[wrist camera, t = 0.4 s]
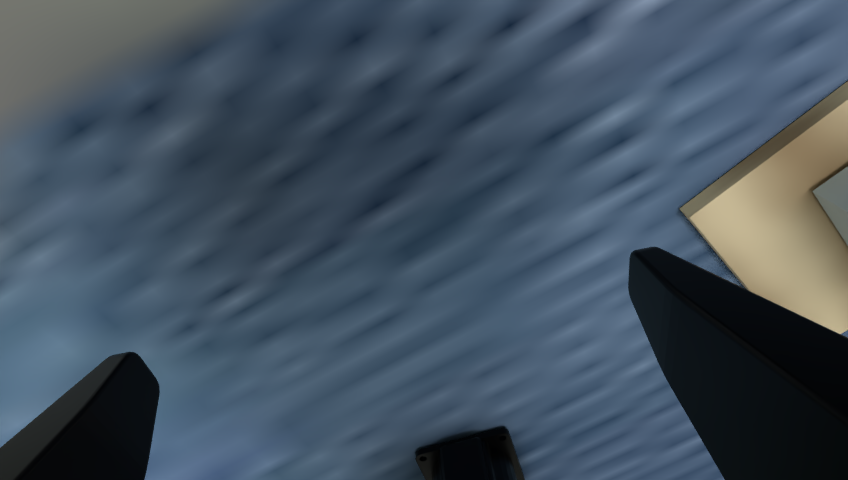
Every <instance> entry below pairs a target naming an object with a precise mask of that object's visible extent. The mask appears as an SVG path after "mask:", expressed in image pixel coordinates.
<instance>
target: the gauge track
mask: <svg viewBox="0 0 848 480" xmlns="http://www.w3.org/2000/svg"><path fill="white" fill-rule="evenodd" d="M847 166H848V81H847V82H846V83H845V84H843V85H842V86H841V87H839V88H838V89H837V90H835V91H834V92H833V93H831V94H830V95H829V96H827V97H826V98H825V99H823V100H822V101H821V102H819V103H818V104H817V105H816V106H814V107H813V108H812V109H810V110H809V111H808V112H806V113H805V114H804V115H802V116H801V117H800V118H798V119H797V120H796V121H794V122H793V123H792V124H790V125H789V126H788V127H787V128H785V129H784V130H783V131H781V132H780V133H779V134H777V135H776V136H775V137H773V138H772V139H771V140H769V141H768V142H767V143H765V144H764V145H763V146H761V147H760V148H759V149H757V150H756V151H755V152H754V153H752V154H751V155H750V156H748V157H747V158H746V159H744V160H743V161H742V162H740V163H739V164H738V165H736V166H735V167H734V168H732V169H731V170H730V171H728V172H727V173H726V174H724V175H723V176H722V177H721V178H719V179H718V180H717V181H715V182H714V183H713V184H711V185H710V186H709V187H707V188H706V189H705V190H703V191H702V192H701V193H699V194H698V195H697V196H695V197H694V198H693V199H691V200H690V201H689V202H688V203H686V204H685V205H684V206H682V207H681V208H680V210H681V211H682V213H683V214H684V215H685V216H686V217H687V219H688V220H689V221H690V222H691V223H692V225H693V226H694V227H695V228H696V229H697V231H698V232H699V233H700V234H701V235H702V237H703V238H704V239H705V240H706V241H707V243H708V244H709V245H710V246H711V247H712V249H713V250H714V251H715V252H716V253H717V255H718V256H719V257H720V258H721V259H722V261H723V262H724V263H725V264H726V265H727V267H728V268H729V269H730V270H731V271H732V273H733V274H734V275H735V276H736V277H737V279H738V280H739V281H740V282H741V283H742V285H743V286H744V287H745V288H746V289H747V290H749V291H751V292H753V293H755V294H757V295H759V296H761V297H763V298H765V299H767V300H770V301H772V302H774V303H776V304H778V305H780V306H782V307H784V308H786V309H788V310H791V311H793V312H795V313H797V314H799V315H801V316H803V317H805V318H807V319H809V320H812V321H814V322H816V323H818V324H820V325H822V326H824V327H826V328H828V329H830V330H833V331H835V332H837V333H839V334H842V333H843V332H845V331H847V330H848V246H847V244H846V242H845V241H844V239H843V238H842V236H841V235H840V233H839V232H838V230H837V229H836V227H835V225H834V224H833V222H832V221H831V219H830V218H829V216H828V215H827V213H826V212H825V210H824V209H823V207H822V205H821V204H820V202H819V201H818V199H817V198H816V196H815V195H814V193H813V192H812V191H813V190H815V189H816V188H818V187H819V186H820V185H822V184H823V183H825V182H826V181H828V180H829V179H830V178H832V177H833V176H835V175H836V174H837V173H839V172H840V171H842V170H843V169H845V168H846V167H847Z"/></svg>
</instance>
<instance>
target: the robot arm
mask: <svg viewBox="0 0 848 480" xmlns="http://www.w3.org/2000/svg"><path fill="white" fill-rule="evenodd" d="M628 289H629V295H630V298H631V301H632V303H633V305H634V308H635V310H636V312H637V315H638V317H639V319H640V321H641V324H642V326H643V328H644V331H645V333H646V335H647V338H648V340H649V342H650V344H651V347H652V349H653V351H654V354H655V356H656V358H657V361H658V363H659V365H660V367H661V369H662V371H663V374H664V375H665V377H666V379H667V381H668V383H669V385H670V386H671V388H672V390H673V391H674V393H675V395H676V397H677V398H678V400H679V402H680V403H681V405H682V407H683V409H684V410H685V412H686V414H687V415H688V417H689V419H690V421H691V422H692V424H693V426H694V427H695V429H696V431H697V433H698V434H699V436H700V438H701V439H702V441H703V443H704V445H705V446H706V448H707V450H708V451H709V453H710V455H711V457H712V458H713V460H714V462H715V464H716V465H717V467H718V469H719V470H720V472H721V474H722V476H723V477H724V479H725V480H848V338H847V337H845V336H843V335H841V334H839V333H837V332H835V331H833V330H830V329H828V328H826V327H824V326H822V325H820V324H818V323H816V322H814V321H812V320H809V319H807V318H805V317H803V316H801V315H799V314H797V313H795V312H793V311H791V310H788V309H786V308H784V307H782V306H780V305H778V304H776V303H774V302H772V301H770V300H767V299H765V298H763V297H761V296H759V295H757V294H755V293H753V292H751V291H749V290H746V289H744V288H742V287H740V286H738V285H736V284H734V283H732V282H730V281H728V280H725V279H723V278H721V277H719V276H717V275H715V274H713V273H711V272H709V271H707V270H704V269H702V268H700V267H698V266H696V265H694V264H692V263H690V262H688V261H686V260H683V259H681V258H679V257H677V256H675V255H673V254H671V253H669V252H667V251H665V250H663V249H660V248H658V247H649V248H644V249H639V250H635V251H633V252H632V253H631V255H630V263H629V283H628ZM159 392H160V391H159V384H158V381H157V379H156V378H155V376H154V375H153V374H152V372H151V371H150V369H149V368H148V367H147V365H146V364H145V363H144V361H143V360H142V359H141V357H140V356H139V355H138V354H136V353H134V352H126V353H121V354H116V355H112V356H110V357H108V358H107V359H105V360H104V361H103V362H102V363H101V364H99V365H98V366H97V367H96V368H95V369H94V370H92V371H91V372H90V373H89V374H88V375H86V376H85V377H84V378H83V379H82V380H80V381H79V382H78V383H77V384H76V385H75V386H73V387H72V388H71V389H70V390H69V391H67V392H66V393H65V394H64V395H63V396H61V397H60V398H59V399H58V400H57V401H55V402H54V403H53V404H52V405H51V406H50V407H48V408H47V409H46V410H45V411H44V412H42V413H41V414H40V415H39V416H38V417H36V418H35V419H34V420H33V421H32V422H30V423H29V424H28V425H27V426H26V427H25V428H23V429H22V430H21V431H20V432H19V433H17V434H16V435H15V436H14V437H13V438H11V439H10V440H9V441H8V442H7V443H6V444H4V445H3V446H2V447H1V448H0V480H144V479H145V475H146V470H147V465H148V460H149V454H150V448H151V442H152V436H153V430H154V424H155V418H156V412H157V406H158V400H159ZM415 455H416V462H417V464H418V466H419V468H420V470H421V471H422V473H423V475H424V477H425V479H426V480H525V478H524V475H523V472H522V469H521V466H520V463H519V460H518V457H517V454H516V451H515V448H514V445H513V442H512V439H511V436H510V434H509V431H508V430H507V429H505V428H500V429H496V430H492V431H489V432H485V433H481V434H477V435H473V436H469V437H466V438H462V439H458V440H454V441H450V442H446V443H442V444H439V445H435V446H431V447H427V448H423V449H420V450H418V451H417V452H416V454H415Z"/></svg>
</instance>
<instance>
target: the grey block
mask: <svg viewBox="0 0 848 480" xmlns="http://www.w3.org/2000/svg"><path fill="white" fill-rule="evenodd" d="M812 192H813V193H814V195H815V196H816V198H817V199H818V201H819V202H820V204H821V205H822V207H823V209H824V210H825V212H826V213H827V215H828V216H829V218H830V219H831V221H832V222H833V224H834V225H835V227H836V229H837V230H838V232H839V233H840V235H841V236H842V238H843V239H844V241H845V242H846V244H847V246H848V166H847V167H846V168H845V169H843V170H842V171H840V172H839V173H837V174H836V175H835V176H833V177H832V178H830V179H829V180H828V181H826V182H825V183H823V184H822V185H820V186H819V187H818V188H816V189H815V190H813V191H812Z"/></svg>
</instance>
